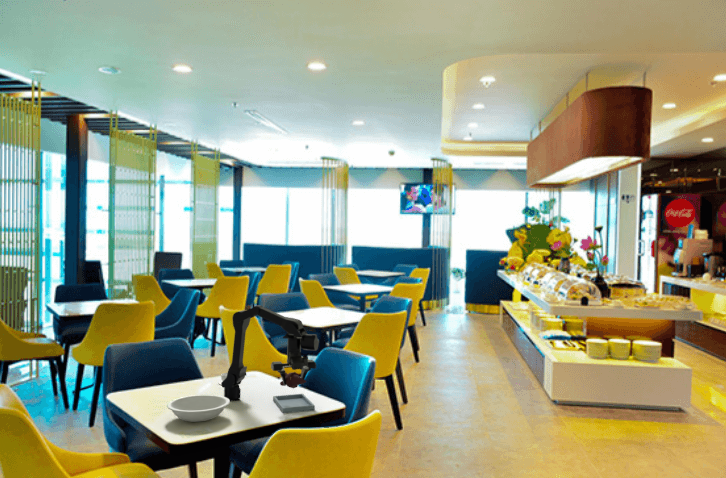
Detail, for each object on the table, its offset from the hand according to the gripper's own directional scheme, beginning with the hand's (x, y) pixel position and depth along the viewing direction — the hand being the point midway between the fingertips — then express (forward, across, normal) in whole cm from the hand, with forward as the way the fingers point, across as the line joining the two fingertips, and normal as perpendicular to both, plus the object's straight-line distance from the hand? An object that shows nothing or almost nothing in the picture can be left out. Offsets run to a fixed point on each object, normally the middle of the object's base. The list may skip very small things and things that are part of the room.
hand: (293, 385), depth 247 cm
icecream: (+1, 0, 0) cm, 1 cm away
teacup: (+9, -21, +47) cm, 52 cm away
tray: (+9, 0, 0) cm, 9 cm away
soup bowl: (+9, -40, -7) cm, 41 cm away
